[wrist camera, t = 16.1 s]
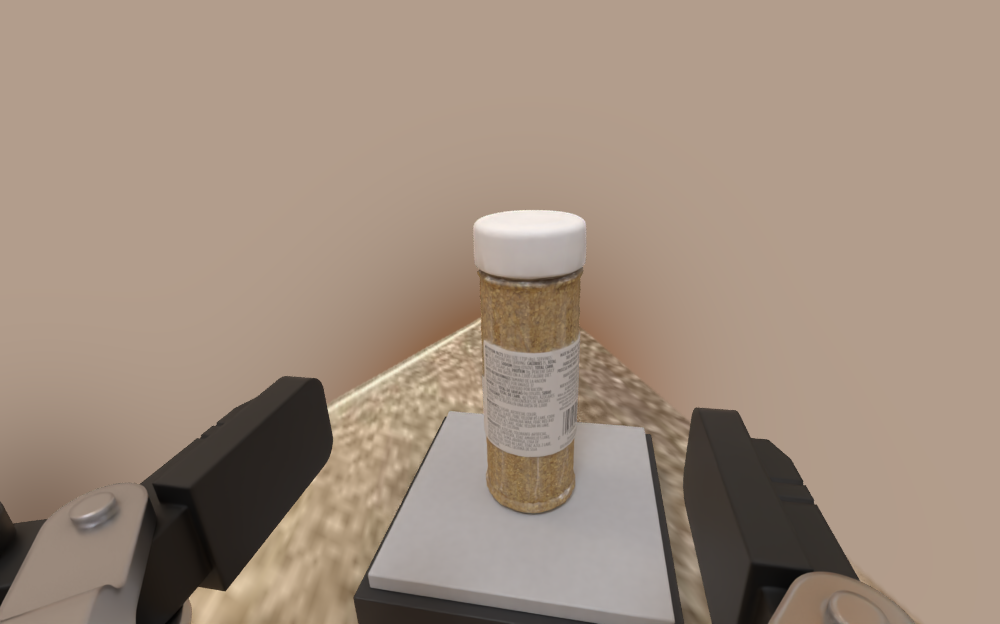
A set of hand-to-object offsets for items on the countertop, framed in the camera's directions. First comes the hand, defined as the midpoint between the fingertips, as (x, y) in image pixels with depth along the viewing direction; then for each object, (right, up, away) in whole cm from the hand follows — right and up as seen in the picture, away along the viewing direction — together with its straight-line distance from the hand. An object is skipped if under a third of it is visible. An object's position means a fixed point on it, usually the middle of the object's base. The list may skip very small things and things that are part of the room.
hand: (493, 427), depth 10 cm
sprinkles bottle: (+2, -6, +14) cm, 15 cm away
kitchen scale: (+2, -9, +15) cm, 17 cm away
